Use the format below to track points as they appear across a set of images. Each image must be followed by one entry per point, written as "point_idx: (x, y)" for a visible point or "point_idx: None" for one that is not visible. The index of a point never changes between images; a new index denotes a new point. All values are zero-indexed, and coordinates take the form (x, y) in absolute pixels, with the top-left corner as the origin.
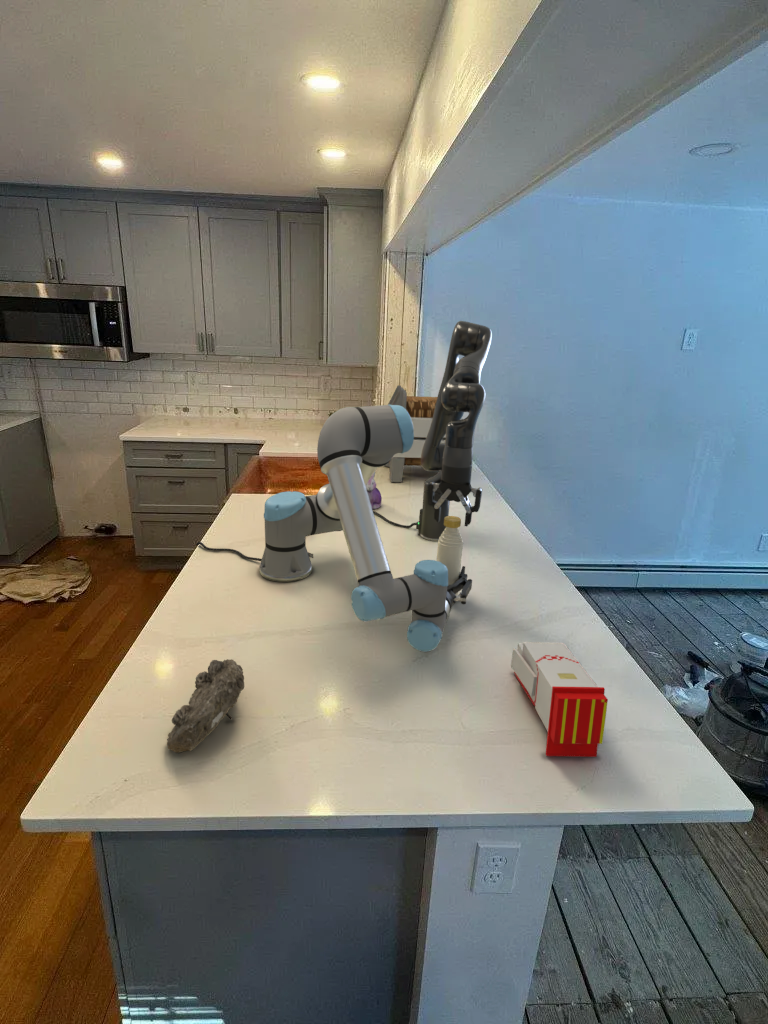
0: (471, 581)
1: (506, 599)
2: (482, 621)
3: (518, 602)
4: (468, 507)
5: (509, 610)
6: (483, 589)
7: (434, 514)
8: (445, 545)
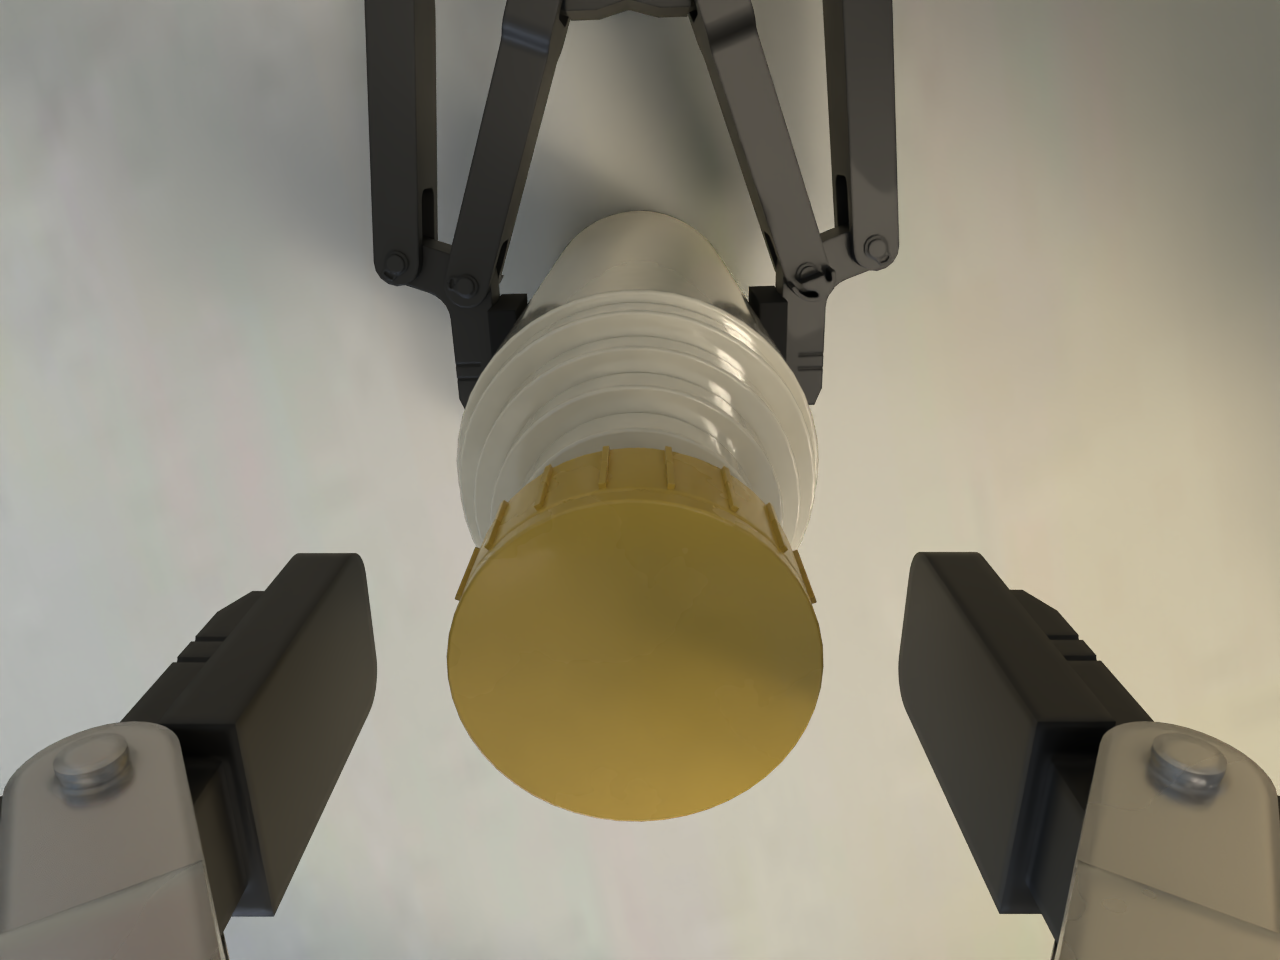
0: (376, 241)
1: (220, 452)
2: (286, 36)
3: (131, 439)
4: (39, 872)
5: (153, 296)
6: (408, 536)
7: (1089, 655)
8: (680, 307)
